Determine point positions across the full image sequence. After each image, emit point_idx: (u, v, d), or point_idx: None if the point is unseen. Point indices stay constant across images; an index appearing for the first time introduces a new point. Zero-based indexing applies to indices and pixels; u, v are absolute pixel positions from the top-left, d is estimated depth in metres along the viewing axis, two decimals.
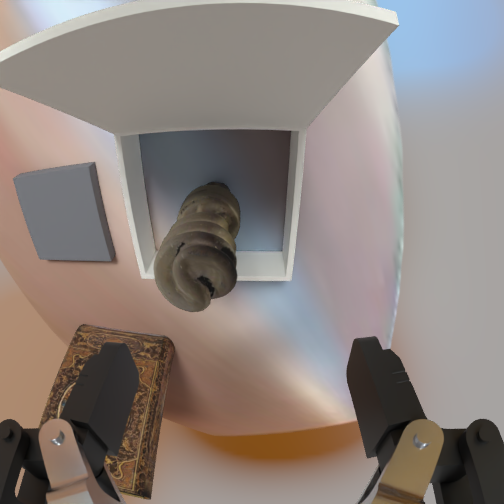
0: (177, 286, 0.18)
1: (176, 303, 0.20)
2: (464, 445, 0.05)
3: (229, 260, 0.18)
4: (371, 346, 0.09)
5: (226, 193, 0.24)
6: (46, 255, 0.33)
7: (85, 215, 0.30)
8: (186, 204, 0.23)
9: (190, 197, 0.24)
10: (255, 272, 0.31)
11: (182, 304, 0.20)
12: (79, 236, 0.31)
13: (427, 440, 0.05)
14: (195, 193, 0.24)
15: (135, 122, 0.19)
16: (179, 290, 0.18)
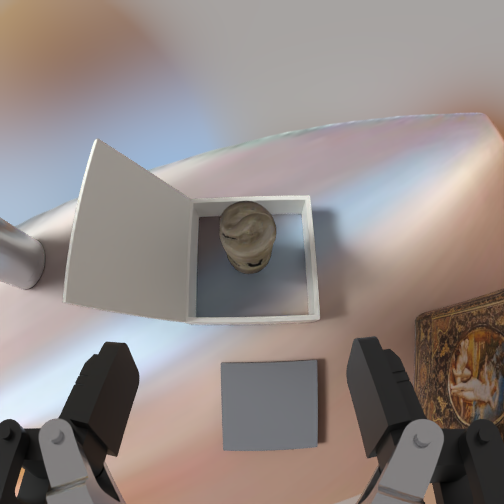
0: (245, 231, 0.26)
1: (267, 237, 0.27)
2: (464, 445, 0.05)
3: (232, 204, 0.28)
4: (371, 346, 0.09)
5: None
6: (311, 436, 0.32)
7: (266, 376, 0.35)
8: (232, 261, 0.34)
9: (230, 261, 0.34)
10: (307, 223, 0.38)
11: (268, 232, 0.27)
12: (289, 388, 0.34)
13: (427, 440, 0.05)
14: (228, 258, 0.35)
15: (171, 292, 0.33)
16: (248, 229, 0.26)
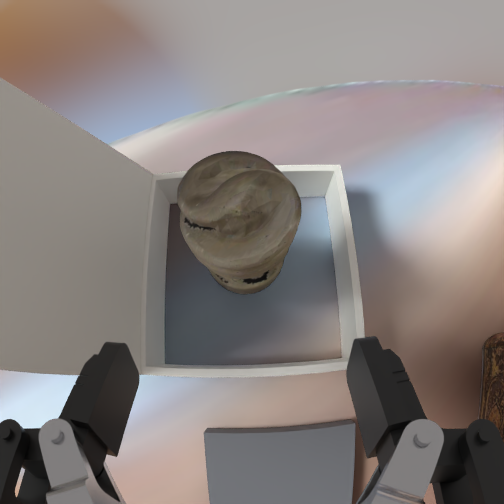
0: (232, 210, 0.11)
1: (283, 222, 0.12)
2: (464, 445, 0.05)
3: None
4: (371, 346, 0.09)
5: None
6: None
7: (277, 452, 0.19)
8: (214, 274, 0.18)
9: (211, 273, 0.19)
10: (339, 207, 0.23)
11: (284, 212, 0.12)
12: (311, 466, 0.19)
13: (427, 440, 0.05)
14: (208, 269, 0.19)
15: (111, 328, 0.17)
16: (239, 206, 0.11)
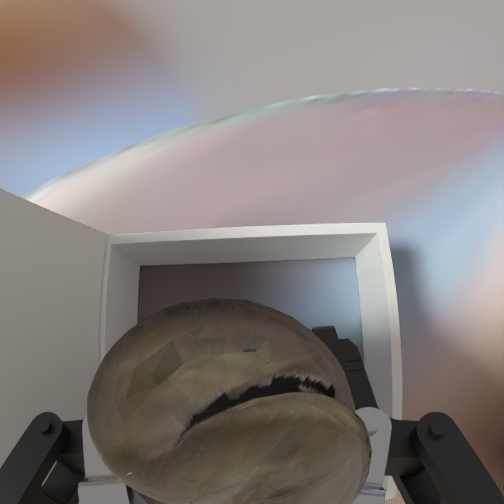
0: None
1: None
2: (417, 442, 0.05)
3: (145, 319, 0.05)
4: (327, 334, 0.09)
5: None
6: None
7: None
8: None
9: None
10: (381, 291, 0.15)
11: (333, 490, 0.04)
12: None
13: (373, 428, 0.06)
14: None
15: None
16: None
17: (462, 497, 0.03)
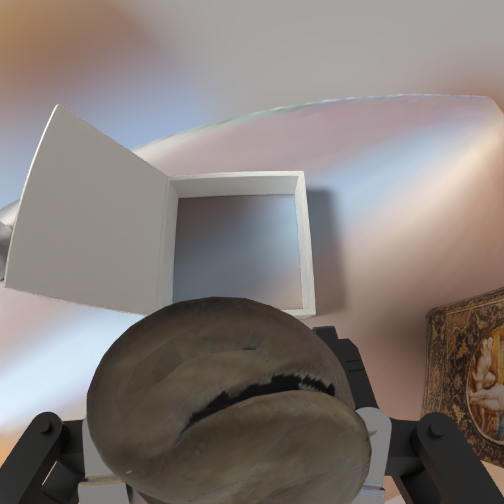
0: None
1: None
2: (417, 442, 0.05)
3: (145, 317, 0.05)
4: (327, 334, 0.09)
5: None
6: None
7: None
8: None
9: None
10: (300, 202, 0.33)
11: (333, 489, 0.04)
12: None
13: (373, 428, 0.06)
14: None
15: (138, 280, 0.27)
16: (227, 503, 0.03)
17: (462, 497, 0.03)
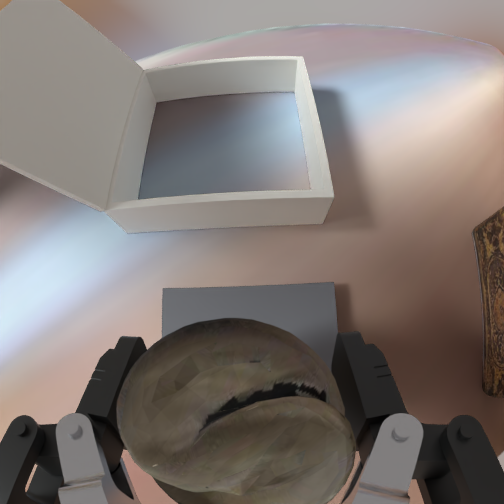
0: (225, 491, 0.04)
1: (319, 493, 0.05)
2: (446, 443, 0.05)
3: (166, 335, 0.06)
4: (353, 340, 0.09)
5: None
6: None
7: (243, 312, 0.20)
8: None
9: None
10: (301, 83, 0.23)
11: (323, 478, 0.05)
12: None
13: (406, 434, 0.05)
14: None
15: (86, 157, 0.18)
16: (237, 488, 0.04)
17: (480, 501, 0.03)
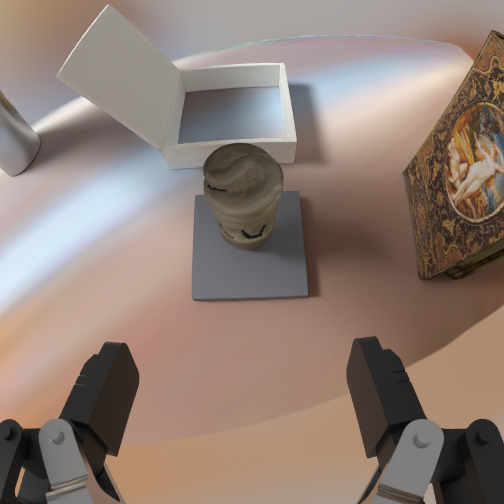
0: (239, 178, 0.18)
1: (271, 185, 0.18)
2: (464, 445, 0.05)
3: None
4: (371, 346, 0.09)
5: None
6: (300, 279, 0.31)
7: None
8: (223, 232, 0.25)
9: (220, 232, 0.26)
10: (282, 80, 0.37)
11: (271, 179, 0.18)
12: None
13: (427, 440, 0.05)
14: None
15: (151, 118, 0.31)
16: (243, 175, 0.18)
17: None
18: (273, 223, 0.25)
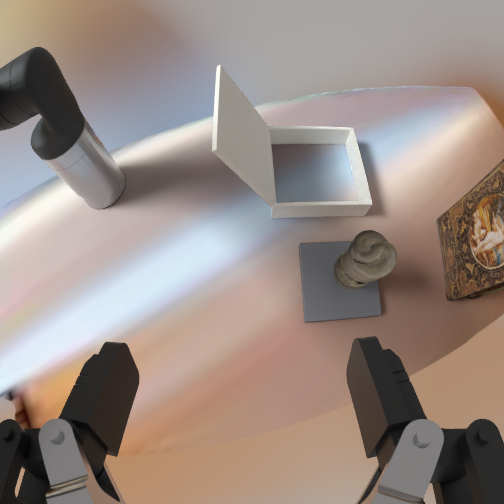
0: (377, 258, 0.30)
1: (392, 262, 0.30)
2: (464, 445, 0.05)
3: (359, 233, 0.32)
4: (371, 346, 0.09)
5: (336, 260, 0.39)
6: (376, 304, 0.43)
7: (336, 252, 0.45)
8: (343, 280, 0.37)
9: (340, 279, 0.38)
10: (353, 145, 0.49)
11: (392, 258, 0.30)
12: None
13: (427, 440, 0.05)
14: (337, 277, 0.38)
15: (265, 179, 0.43)
16: (379, 257, 0.30)
17: None
18: None
